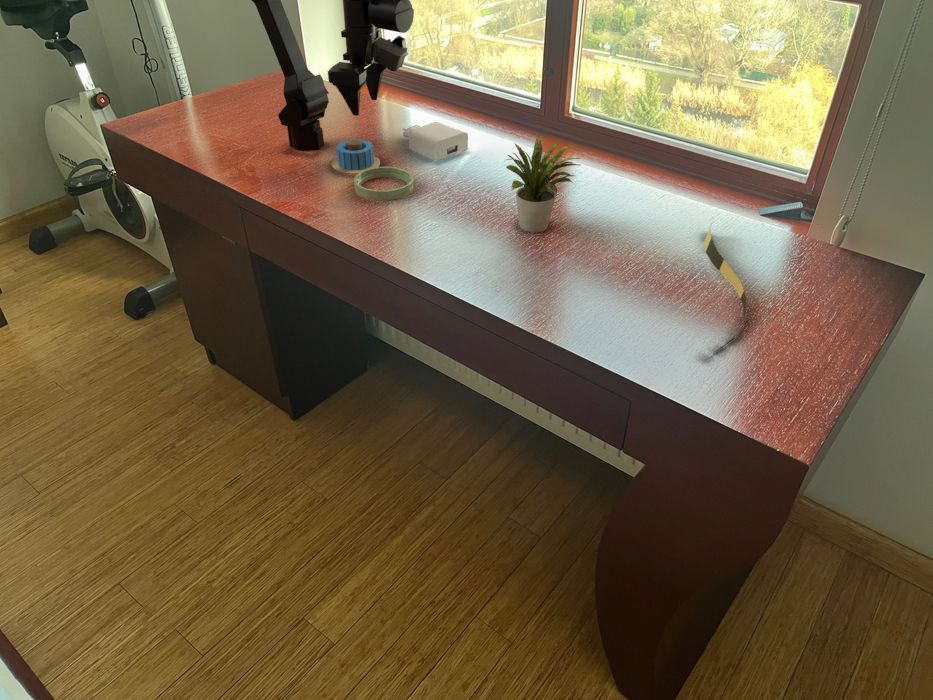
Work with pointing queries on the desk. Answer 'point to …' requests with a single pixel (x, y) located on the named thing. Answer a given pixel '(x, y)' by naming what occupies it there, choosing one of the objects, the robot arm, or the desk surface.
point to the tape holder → (354, 146)
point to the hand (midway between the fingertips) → (365, 107)
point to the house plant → (537, 185)
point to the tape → (724, 271)
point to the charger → (436, 140)
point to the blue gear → (355, 156)
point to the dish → (383, 172)
